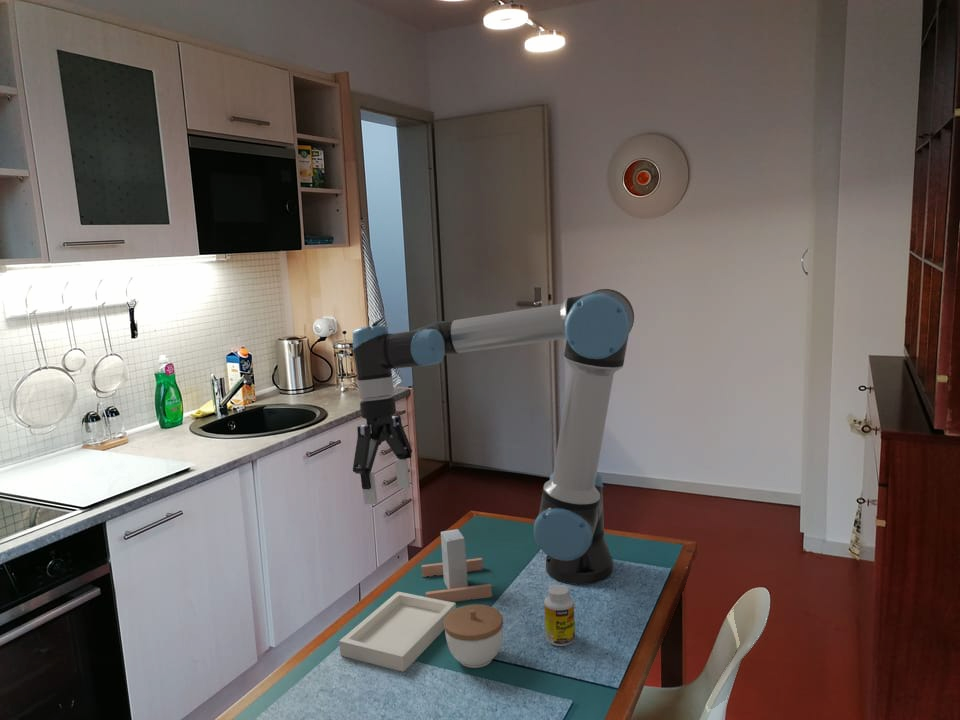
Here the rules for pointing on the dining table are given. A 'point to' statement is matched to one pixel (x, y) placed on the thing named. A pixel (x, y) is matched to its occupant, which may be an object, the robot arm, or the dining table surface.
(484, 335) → the robot arm
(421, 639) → the cream tray
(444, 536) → the skincare box
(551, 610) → the supplement bottle
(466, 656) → the lidded jar
